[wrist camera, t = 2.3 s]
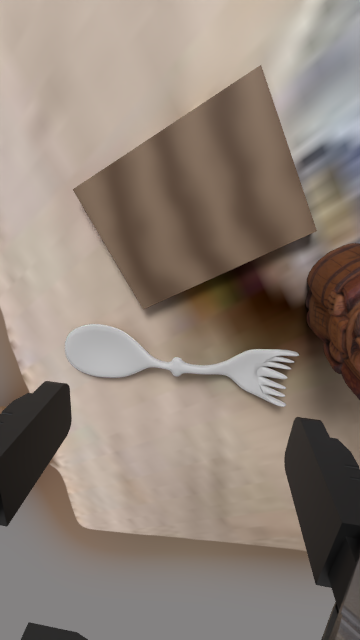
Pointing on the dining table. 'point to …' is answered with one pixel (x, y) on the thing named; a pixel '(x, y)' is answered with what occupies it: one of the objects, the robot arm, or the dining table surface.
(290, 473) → the robot arm
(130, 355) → the spoon
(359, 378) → the wooden figurine
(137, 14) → the dining table surface
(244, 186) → the walnut board
